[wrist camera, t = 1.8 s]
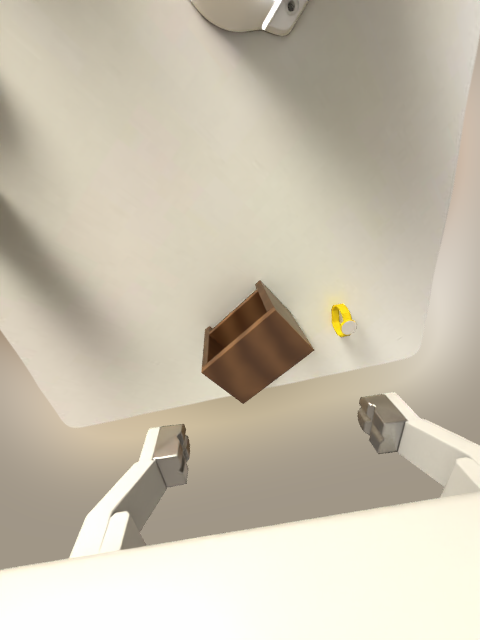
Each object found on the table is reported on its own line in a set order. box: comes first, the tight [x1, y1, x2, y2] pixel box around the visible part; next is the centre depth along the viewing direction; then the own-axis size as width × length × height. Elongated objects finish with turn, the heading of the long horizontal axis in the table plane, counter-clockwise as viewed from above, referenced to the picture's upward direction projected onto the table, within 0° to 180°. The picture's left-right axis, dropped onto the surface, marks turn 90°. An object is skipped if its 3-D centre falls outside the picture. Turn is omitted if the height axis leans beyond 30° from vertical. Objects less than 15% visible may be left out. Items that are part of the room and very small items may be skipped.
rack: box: [201, 281, 314, 404], centre depth 42 cm, size 14×9×13 cm, turn 133°
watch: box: [332, 304, 357, 337], centre depth 46 cm, size 6×3×6 cm, turn 10°
